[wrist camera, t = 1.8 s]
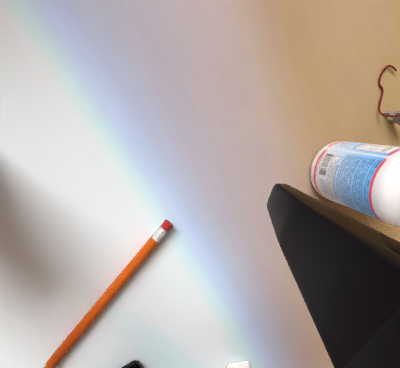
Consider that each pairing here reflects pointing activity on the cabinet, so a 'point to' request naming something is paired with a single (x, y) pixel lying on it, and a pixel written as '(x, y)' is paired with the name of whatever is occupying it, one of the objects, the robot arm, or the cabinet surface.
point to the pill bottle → (360, 178)
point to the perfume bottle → (239, 365)
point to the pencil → (109, 294)
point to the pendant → (396, 118)
